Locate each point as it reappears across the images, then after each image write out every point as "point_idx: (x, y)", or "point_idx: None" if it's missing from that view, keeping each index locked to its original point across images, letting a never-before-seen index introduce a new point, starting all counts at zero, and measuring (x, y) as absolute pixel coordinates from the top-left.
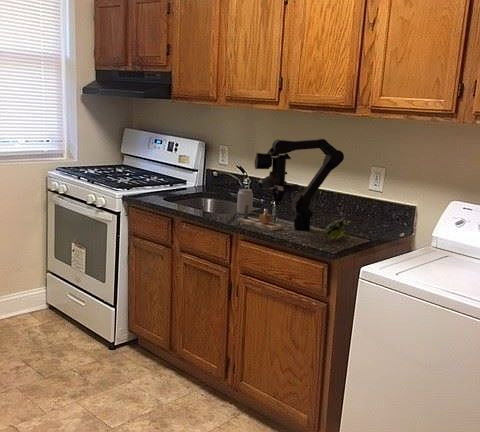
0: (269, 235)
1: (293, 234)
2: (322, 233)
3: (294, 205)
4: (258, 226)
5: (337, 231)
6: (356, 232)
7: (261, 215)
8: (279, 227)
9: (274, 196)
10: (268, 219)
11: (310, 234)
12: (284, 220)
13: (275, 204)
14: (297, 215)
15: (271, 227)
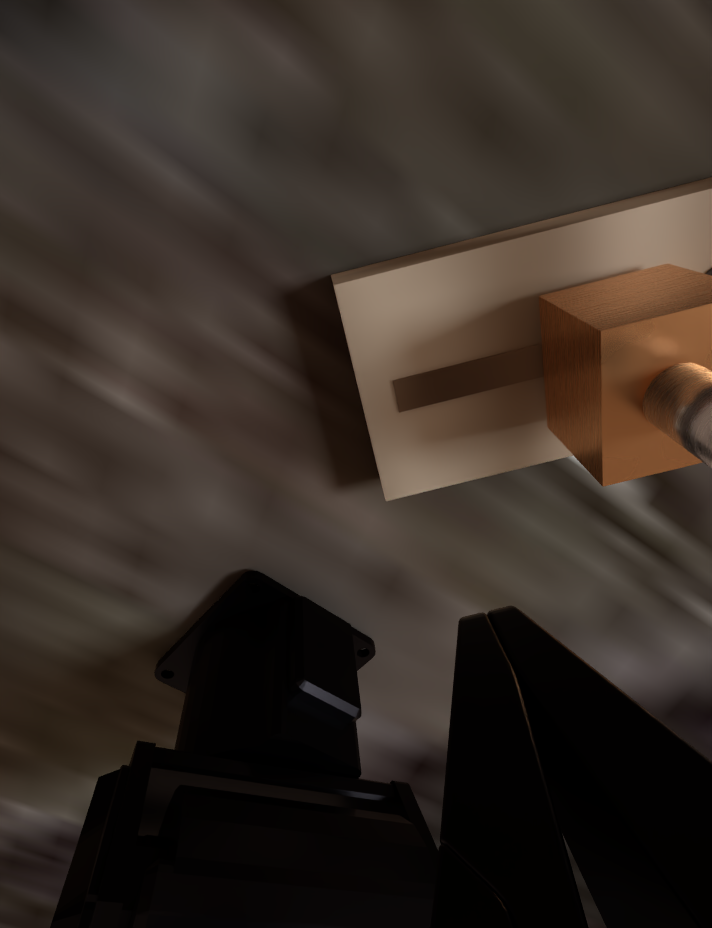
0: (43, 16)
1: (48, 440)
2: (43, 722)
3: (254, 894)
4: (602, 208)
5: None
6: (34, 918)
7: (705, 300)
8: (371, 442)
9: (683, 857)
10: (566, 387)
11: (17, 611)
12: (658, 677)
13: (512, 611)
14: (283, 749)
15: (339, 282)
